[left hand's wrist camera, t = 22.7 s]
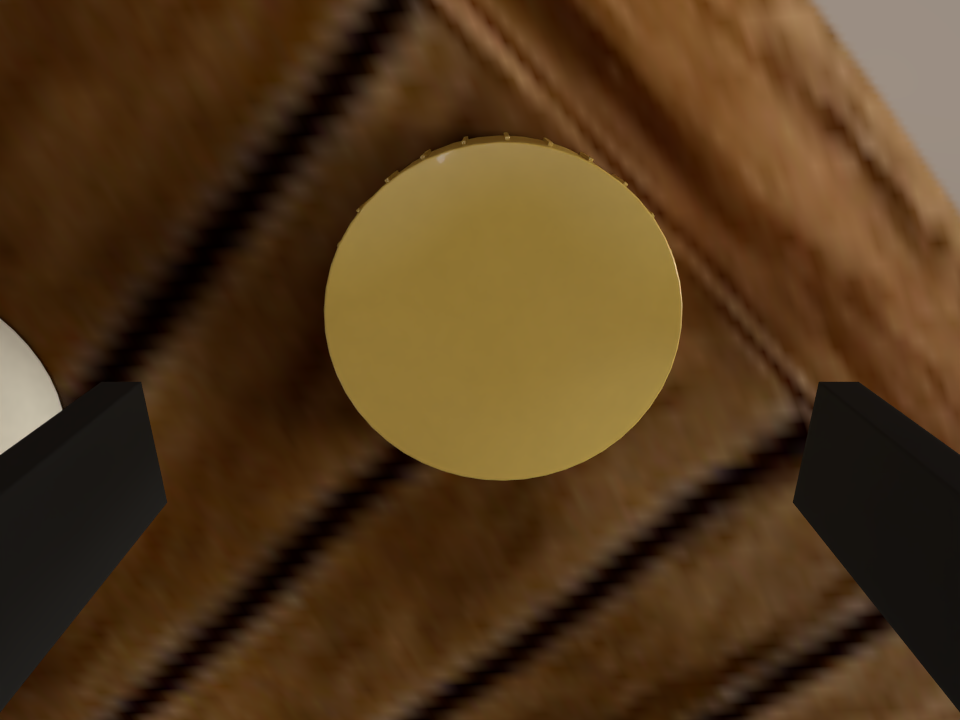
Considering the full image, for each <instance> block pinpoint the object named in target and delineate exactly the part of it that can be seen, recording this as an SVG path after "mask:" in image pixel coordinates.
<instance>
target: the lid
mask: <svg viewBox="0 0 960 720" xmlns="http://www.w3.org/2000/svg"><path fill="white" fill-rule="evenodd" d="M593 160H594V159H592V158H591V157H589V156H588V155H586V154H585V153H583V152H580V153H579V154H577V153H575V152H573V151H571V150H569V149H567V148H565V147H562V146H559V145H556V144H553V143H552V142H551V141H550V140H549V139H547V138H545V137H544V138H543V140H539V139H533V138H528V137H523V136H509V134H508V132H504V136H503V135H497V136H486V137H476V138H472V139H468V136H466V137H464V138H463V140H462V141H459V142H455V143H452V144H449V145H447V146H444V147H442V148H439V149H436V150H434V151H431V149H429V150H427V151H426V152H425V153H424V154H422V155H421V156H420V158H419V159H417V160H416V161H414V162H412V163H411V164H410V165H408V166H407V167H406V168H404V169H403V170H402V171H400V172H399V171H398V170H396V171H395V172H394V173H393V174H391V175H390V176H389V177H388V178H387V179H385V180H384V181H385V182H386V184H385V185H384V186H382V187H381V188H380V189H379V190H378V191H377V192H376V193H375V194H374V195H373V196H372V197H371V198H369V199H368V200H367V201H366V202H365V203H364V204H362V205H361V206H360V207H359V208H358V209H357V212H358V214H357V215H356V216H355V218H354V219H353V220H352V222H351V223H350V225H349V227H348V229H347V230H346V232H345V234H344V236H343V238H342V239H341V241H340V242H339V243H338V245H337V247H338V248H337V250H336V253H335V256H334V258H333V261H332V264H331V267H330V271H329V276H328V280H327V284H326V291H325V303H324V321H325V334H326V339H327V344H328V349H329V354H330V357H331V360H332V363H333V366H334V369H335V372H336V374H337V376H338V378H339V380H340V382H341V384H342V387H343V389H344V391H345V393H346V394H347V396H348V397H349V399H350V400H351V402H352V403H353V405H354V406H355V408H356V409H357V411H358V412H359V413H360V414H361V415H362V417H363V418H364V419H365V420H366V421H367V422H368V423H369V425H370V426H371V427H372V428H373V429H374V430H375V431H377V432H378V433H379V434H380V435H381V436H382V437H383V438H384V439H385V440H387V441H388V442H389V443H391V444H392V445H394V446H395V447H396V448H398V449H399V450H401V451H402V452H403V453H405V454H407V455H409V456H411V457H413V458H414V459H416V460H418V461H420V462H422V463H424V464H426V465H429V466H431V467H434V468H436V469H439V470H441V471H445V472H448V473H452V474H456V475H459V476H464V477H470V478H476V479H483V480H518V479H528V478H533V477H539V476H545V475H548V474H552V473H555V472H558V471H562V470H565V469H568V468H570V467H572V466H575V465H577V464H579V463H582V462H584V461H586V460H588V459H590V458H591V457H593V456H595V455H597V454H598V453H600V452H602V451H604V450H605V449H606V448H608V447H609V446H611V445H612V444H613V443H615V442H616V441H617V440H619V439H620V438H621V437H622V436H623V435H624V434H626V433H627V432H628V431H629V430H630V429H631V428H632V427H633V426H634V425H635V424H636V423H637V422H638V421H639V420H640V418H641V417H642V416H643V415H644V414H645V412H646V411H647V410H648V409H649V408H650V406H651V405H652V403H653V402H654V400H655V398H656V397H657V395H658V394H659V392H660V391H661V389H662V387H663V385H664V383H665V381H666V379H667V377H668V374H669V372H670V370H671V368H672V364H673V361H674V358H675V355H676V352H677V349H678V344H679V338H680V332H681V327H682V296H681V286H680V280H679V276H678V272H677V268H676V264H675V260H674V257H673V255H672V251H671V249H670V247H669V245H668V243H667V240H666V238H665V236H664V234H663V233H662V231H661V229H660V228H659V226H658V224H657V222H656V221H655V219H654V215H653V213H652V212H650V211H649V210H648V209H646V207H645V206H644V205H643V204H642V202H641V201H640V200H639V199H638V198H637V197H636V196H635V195H634V194H633V193H632V192H631V191H630V190H629V189H628V188H627V187H626V186H627V185H628V184H627V183H626V182H625V181H623V180H622V179H620V178H619V177H617V176H616V175H614V174H612V175H610V174H609V173H607V172H606V171H604V170H603V169H601V168H600V167H598V166H597V165H596V164H594V163H593Z"/></svg>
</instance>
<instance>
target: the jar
mask: <svg viewBox="0 0 960 720" xmlns="http://www.w3.org/2000/svg"><path fill="white" fill-rule="evenodd" d="M60 411H62V406H61V403H60V400H59V397H58V394H57V391H56V389H55V387H54V385H53V383H52V380H51V378H50V376H49V375H48V373H47V371H46V370H45V368H44V366H43V365H42V363H41V362H40V360H39V359H38V358H37V356H36V355H35V354H34V352H33V351H32V350H31V348H30V347H29V346H28V345H27V344H26V343H25V341H24V340H23V339H22V338H21V337H20V336H19V335H18V334H17V333H16V332H15V331H14V330H13V329H12V328H11V327H10V326H8V325H7V324H6V323H5V322H4V321H3V320H2V319H0V455H1V454H2V453H3V452H5V451H6V450H8V449H9V448H10V447H12V446H13V445H15V444H16V443H17V442H19V441H20V440H21V439H23V438H24V437H26V436H27V435H28V434H30V433H31V432H33V431H34V430H35V429H37V428H38V427H40V426H41V425H42V424H44V423H45V422H46V421H48V420H49V419H51V418H52V417H53V416H55V415H56V414H58V413H59V412H60Z"/></svg>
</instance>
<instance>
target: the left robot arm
mask: <svg viewBox="0 0 960 720" xmlns="http://www.w3.org/2000/svg"><path fill="white" fill-rule="evenodd" d="M166 503H167V499H166V495H165V490H164V486H163V481H162V476H161V472H160V467H159V463H158V458H157V453H156V449H155V444H154V439H153V435H152V430H151V426H150V421H149V416H148V412H147V407H146V403H145V398H144V393H143V389H142V384H141V382H101V383H99V384H98V385H97V386H95V387H94V388H92V389H91V390H90V391H88V392H87V393H85V394H84V395H83V396H81V397H80V398H78V399H77V400H76V401H74V402H73V403H71V404H70V405H69V406H67V407H66V408H65V409H63V410H62V411H60V412H59V413H58V414H56V415H55V416H53V417H52V418H51V419H49V420H48V421H46V422H45V423H44V424H42V425H41V426H40V427H38V428H37V429H35V430H34V431H33V432H31V433H30V434H28V435H27V436H26V437H24V438H23V439H21V440H20V441H19V442H17V443H16V444H15V445H13V446H12V447H10V448H9V449H8V450H6V451H5V452H3V453H2V454H1V455H0V712H1V710H2V709H3V708H4V707H5V705H6V704H7V703H8V702H9V700H10V699H11V698H12V697H13V695H14V694H15V693H16V692H17V690H18V689H19V688H20V687H21V685H22V684H23V683H24V682H25V680H26V679H27V678H28V676H29V675H30V674H31V673H32V671H33V670H34V669H35V668H36V666H37V665H38V664H39V663H40V661H41V660H42V659H43V658H44V656H45V655H46V654H47V653H48V651H49V650H50V649H51V648H52V646H53V645H54V644H55V643H56V641H57V640H58V639H59V638H60V636H61V635H62V634H63V633H64V631H65V630H66V629H67V628H68V626H69V625H70V624H71V622H72V621H73V620H74V619H75V617H76V616H77V615H78V614H79V612H80V611H81V610H82V609H83V607H84V606H85V605H86V604H87V602H88V601H89V600H90V599H91V597H92V596H93V595H94V594H95V592H96V591H97V590H98V589H99V587H100V586H101V585H102V584H103V582H104V581H105V580H106V579H107V577H108V576H109V575H110V574H111V572H112V571H113V570H114V568H115V567H116V566H117V565H118V563H119V562H120V561H121V560H122V558H123V557H124V556H125V555H126V553H127V552H128V551H129V550H130V548H131V547H132V546H133V545H134V543H135V542H136V541H137V540H138V538H139V537H140V536H141V535H142V533H143V532H144V531H145V530H146V528H147V527H148V526H149V525H150V523H151V522H152V521H153V520H154V518H155V517H156V516H157V514H158V513H159V512H160V511H161V509H162V508H163V507H164V506H165V504H166ZM793 503H794V504H795V506H796V507H797V508H798V509H799V511H800V512H801V513H802V514H803V516H804V517H805V518H806V520H807V521H808V522H809V523H810V525H811V526H812V527H813V528H814V530H815V531H816V532H817V533H818V535H819V536H820V537H821V538H822V540H823V541H824V542H825V543H826V545H827V546H828V547H829V548H830V550H831V551H832V552H833V553H834V555H835V556H836V557H837V558H838V560H839V561H840V562H841V563H842V565H843V566H844V567H845V568H846V570H847V571H848V572H849V574H850V575H851V576H852V577H853V579H854V580H855V581H856V582H857V584H858V585H859V586H860V587H861V589H862V590H863V591H864V592H865V594H866V595H867V596H868V597H869V599H870V600H871V601H872V602H873V604H874V605H875V606H876V607H877V609H878V610H879V611H880V612H881V614H882V615H883V616H884V617H885V619H886V620H887V621H888V622H889V624H890V625H891V626H892V628H893V629H894V630H895V631H896V633H897V634H898V635H899V636H900V638H901V639H902V640H903V641H904V643H905V644H906V645H907V646H908V648H909V649H910V650H911V651H912V653H913V654H914V655H915V656H916V658H917V659H918V660H919V661H920V663H921V664H922V665H923V666H924V668H925V669H926V670H927V671H928V673H929V674H930V675H931V676H932V678H933V679H934V680H935V682H936V683H937V684H938V685H939V687H940V688H941V689H942V690H943V692H944V693H945V694H946V695H947V697H948V698H949V699H950V700H951V702H952V703H953V704H954V705H955V707H956V708H957V709H958V710H959V712H960V455H959V454H958V453H957V452H955V451H954V450H952V449H951V448H950V447H948V446H947V445H945V444H944V443H943V442H941V441H940V440H939V439H937V438H936V437H934V436H933V435H932V434H930V433H929V432H927V431H926V430H925V429H923V428H922V427H920V426H919V425H918V424H916V423H915V422H914V421H912V420H911V419H909V418H908V417H907V416H905V415H904V414H902V413H901V412H900V411H898V410H897V409H895V408H894V407H893V406H891V405H890V404H889V403H887V402H886V401H884V400H883V399H882V398H880V397H879V396H877V395H876V394H875V393H873V392H872V391H870V390H869V389H868V388H866V387H865V386H863V385H862V384H861V383H859V382H819V384H818V389H817V393H816V398H815V402H814V407H813V412H812V416H811V421H810V426H809V430H808V435H807V439H806V444H805V449H804V453H803V458H802V463H801V467H800V472H799V476H798V481H797V486H796V490H795V495H794V499H793Z"/></svg>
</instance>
